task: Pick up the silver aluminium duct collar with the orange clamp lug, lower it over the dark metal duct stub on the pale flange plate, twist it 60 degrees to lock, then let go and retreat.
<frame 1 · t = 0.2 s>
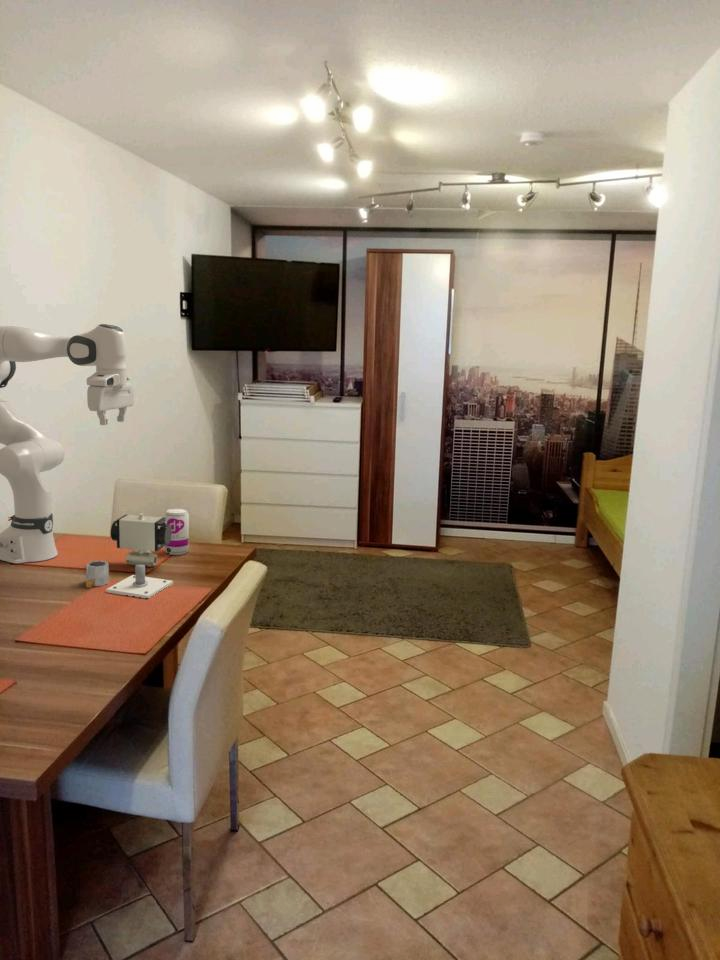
hand: (112, 423, 227), 47 cm above the table, fingers open, 8 cm apart
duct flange: (140, 588, 220), on the table
supplement can: (176, 552, 256), on the table
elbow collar: (97, 582, 222), on the table
ball valve: (142, 565, 240), on the table
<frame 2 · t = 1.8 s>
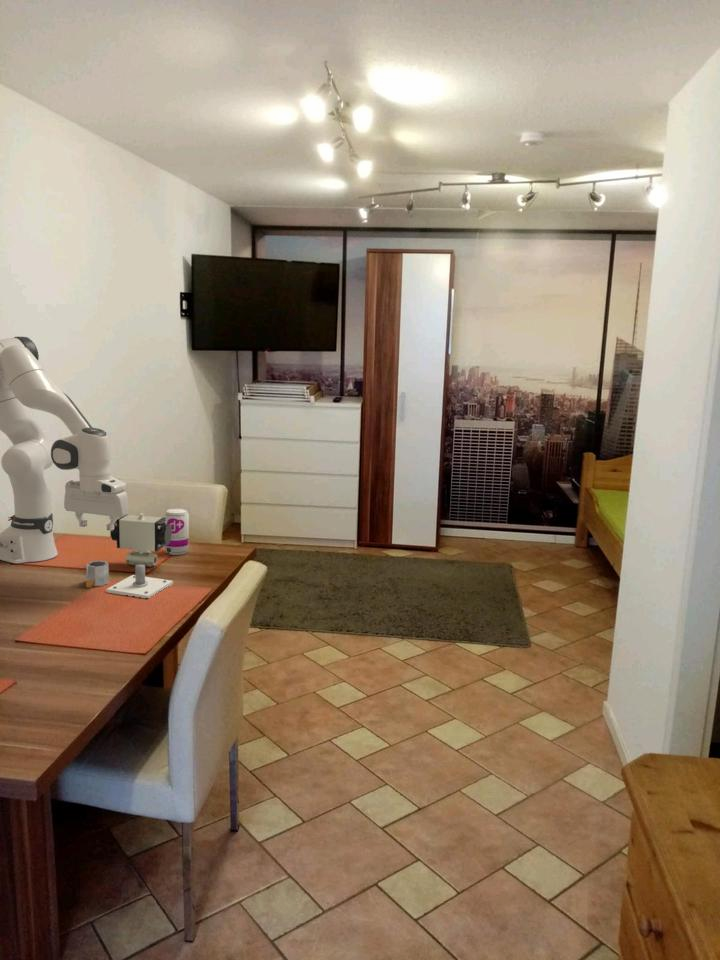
hand: (96, 528, 219), 17 cm above the table, fingers open, 8 cm apart
nothing on the table moved.
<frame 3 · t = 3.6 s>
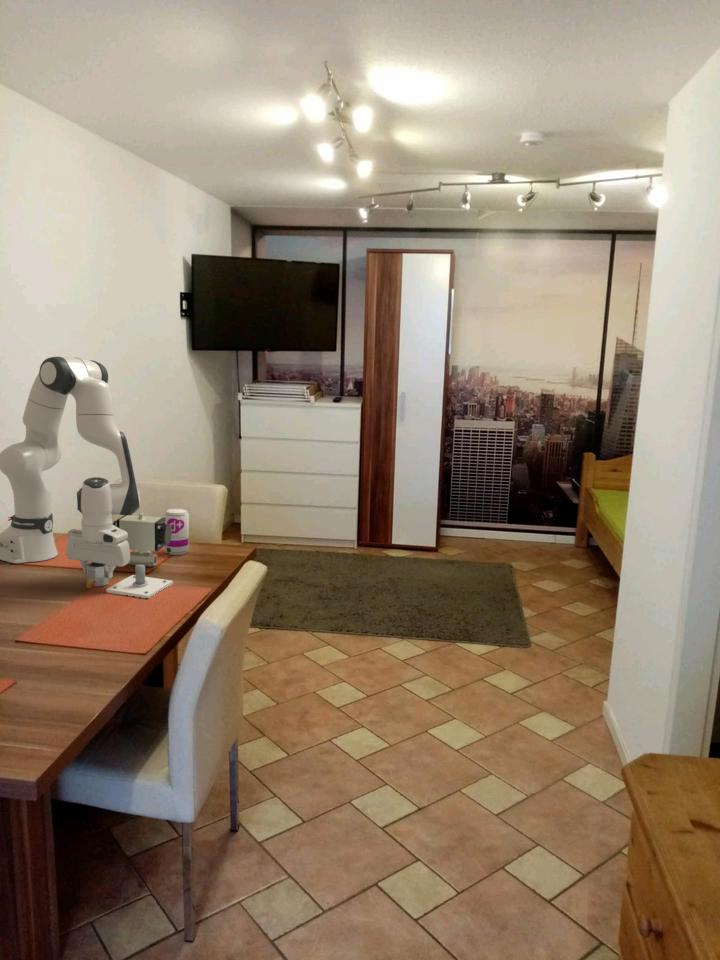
hand: (98, 575, 222), 2 cm above the table, fingers closed on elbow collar, 6 cm apart
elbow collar: (98, 582, 222), on the table, touching gripper
everything else where it was.
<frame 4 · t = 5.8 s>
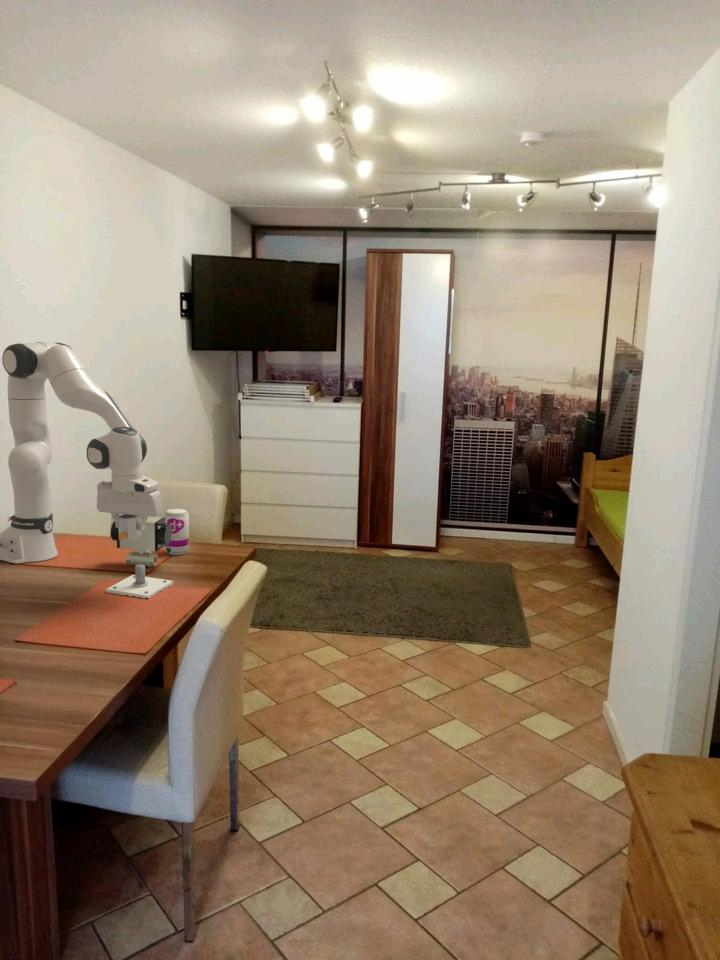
hand: (130, 528, 216), 18 cm above the table, fingers closed on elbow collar, 6 cm apart
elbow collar: (130, 535, 216), point 16 cm above the table, touching gripper
everything else where it was.
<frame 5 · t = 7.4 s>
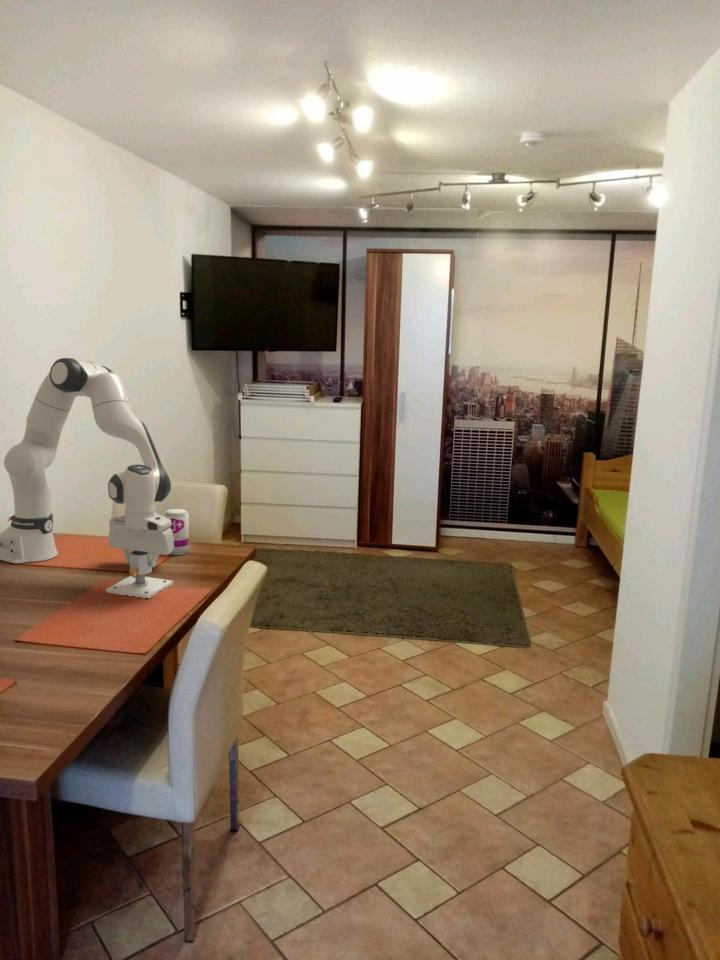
hand: (141, 564, 218), 7 cm above the table, fingers closed on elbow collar, 6 cm apart
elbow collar: (140, 571, 219), point 5 cm above the table, touching gripper
everything else where it was.
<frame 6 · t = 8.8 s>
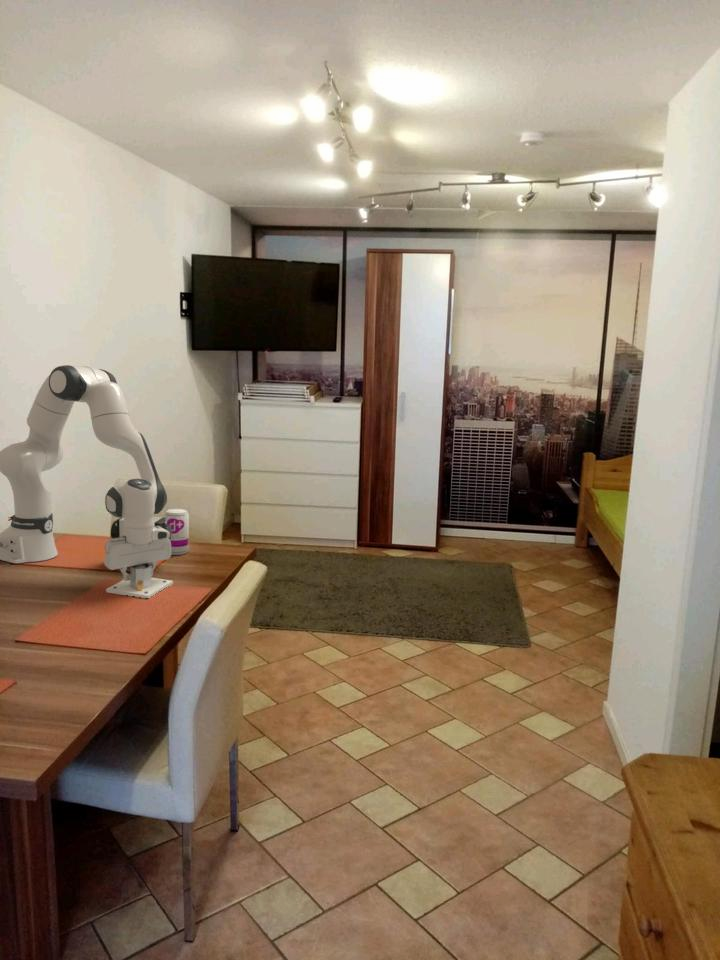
hand: (138, 577, 220), 3 cm above the table, fingers closed on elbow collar, 6 cm apart
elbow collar: (140, 584, 219), point 1 cm above the table, touching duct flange, gripper
everything else where it was.
when the fingers open (3 cm above the table, at t = 9.1 s): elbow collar stays where it is, resting on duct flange.
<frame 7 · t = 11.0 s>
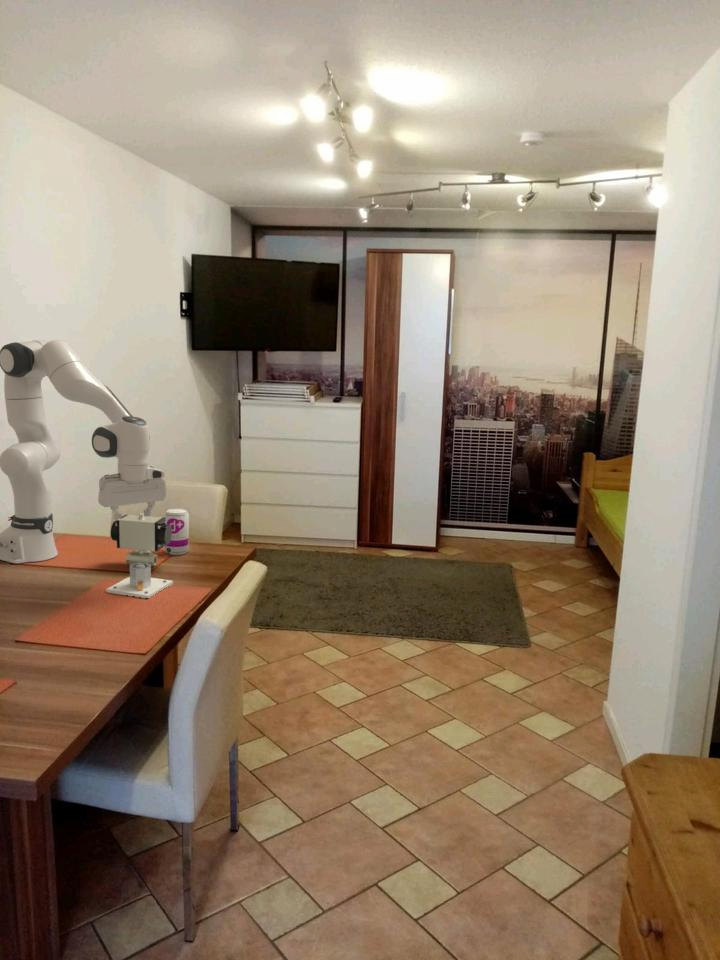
hand: (132, 517, 217), 21 cm above the table, fingers open, 8 cm apart
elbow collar: (140, 584, 219), point 1 cm above the table, touching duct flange
everything else where it was.
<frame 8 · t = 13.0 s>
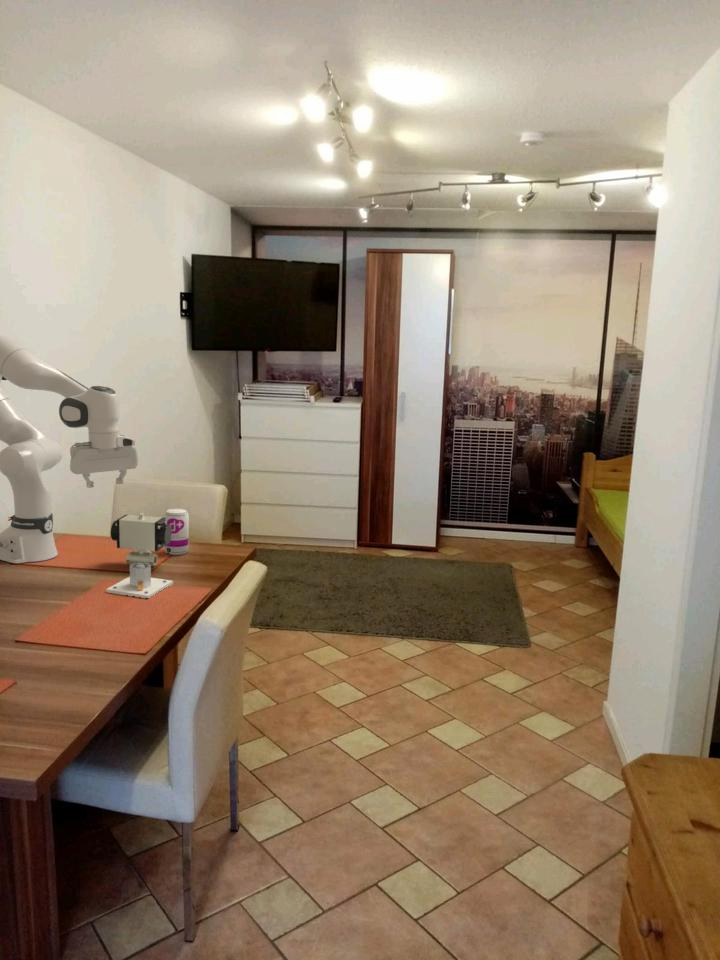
hand: (105, 485, 222), 29 cm above the table, fingers open, 8 cm apart
nothing on the table moved.
at the end: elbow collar 0.1 cm off-centre on the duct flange, point 1.0 cm above the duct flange's base; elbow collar tilted 0°; the gripper is holding nothing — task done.
